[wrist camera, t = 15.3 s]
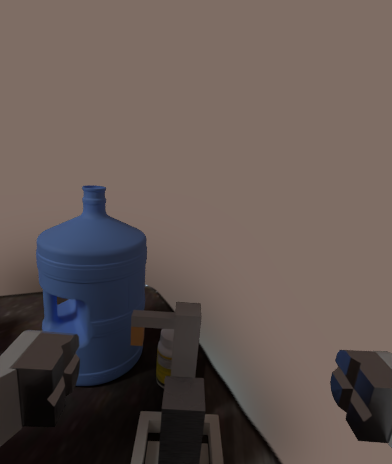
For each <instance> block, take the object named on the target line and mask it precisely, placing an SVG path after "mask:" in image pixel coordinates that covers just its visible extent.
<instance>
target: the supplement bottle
mask: <svg viewBox="0 0 392 464" xmlns="http://www.w3.org/2000/svg"><path fill="white" fill-rule="evenodd" d="M173 338H174V329H162V330H161V336H160V341H159V343H158V348H157V368H156V380H157V383H158V384H159V385H160V386H161V387H162V388H164V385H165V376H171V365H172V351H173Z"/></svg>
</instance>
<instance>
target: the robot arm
mask: <svg viewBox="0 0 392 464" xmlns="http://www.w3.org/2000/svg"><path fill="white" fill-rule="evenodd" d="M78 348H79V336H78V335H77V334H73V333H61V332H49V331H44V332H43V331H34V330H27V331H24V332H22V333H21V334H20V335H19V337H18V338H17V339H16V340H15V341H14V342H13V343H12V344H11V345H10V346H9V347H8V348H7V349H6V351H5V352H4V353H3V354H2V355H1V356H0V446H2V445H3V444H4V443H5V442H6V441H8V440H9V439H10V438H11V437H12V436H14V435H15V434H16V433H17V432H18V431H20V430H21V429H22V426H31V427H55V426H56V424H57V422H58V420H59V418H60V416H61V414H62V412H63V410H64V408H65V406H66V396H68V395H69V394H71V393H72V392H73V389H74V387H75V385H76V382H77V379H78V375H79V368H80V358H79V357H78V356H77V354H76V351H77V349H78ZM335 361H336V363H337V365H338V368H337V369H336V370H335V371H333V372H332V376H331V381H330V383H331V391H332V395H333V397H334V400H335V402H336V403H337V405H338V406H339V407H340V408H341V409H343V410H344V411H345V412H346V413H347V415H346V421H347V422H348V424H349V426H350V427H351V429H352V431H353V433H354V434H355V436H356V438H357V439H358V441H369V442H381V443H389V446H390V447H391V448H392V353H390V352H387V351H353V350H340V351H339V352H338V353H337V356H336V360H335Z"/></svg>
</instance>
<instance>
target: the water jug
mask: <svg viewBox="0 0 392 464" xmlns="http://www.w3.org/2000/svg"><path fill="white" fill-rule="evenodd" d="M82 189H83V191H84V197H83V213H82V214H81V215H80V216H78V217H76V218H73V219H71V220H69V221H66V222H64V223H61V224H59V225H57V226H54V227H52V228H50V229H47V230H45V231H44V232H42V233H41V234H40V235H39V236H38V238H37V250H36V258H37V267H38V270H39V283H40V286H41V287H42V288H43V299H44V315H45V318H44V320H43V323H42V331H43V332H44V331H49V332H61V333H73V334H77V335H78V336H79V348H78V349H77V351H76V354H77V356H78V357H79V358H80V368H79V375H78V379H77V382H76V385H75V386H93V385H99V384H103V383H107V382H110V381H112V380H114V379H117V378H119V377H120V376H122V375H124V374H125V373H127V372H128V371H129V370H130V369H131V368H132V367H133V366H134V365H135V364H136V363H137V361H138V360H139V358H140V356H141V354H142V350H143V345H142V346H133V345H131V316H132V313H133V310H144V307H145V293H144V287H145V264H146V259H147V247H146V236H145V234H144V233H143V232H142V231H140V230H139V229H137V228H134V227H132V226H130V225H128V224H126V223H123V222H121V221H119V220H117V219H114V218H112V217H110V216H108V215H107V214H106V211H105V203H106V199H105V190H106V187H102V186H83V187H82ZM57 297H61V298H66V299H68V300H67V301H65V302H63V303H61V304H59V305H57Z"/></svg>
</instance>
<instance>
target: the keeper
mask: <svg viewBox="0 0 392 464" xmlns="http://www.w3.org/2000/svg"><path fill="white" fill-rule="evenodd" d="M200 325H201V305H200V303H185V302H176V312H160V311H144V310H133V313H132V316H131V345H133V346H142V345H143V341H144V327H146V328H162V329H174V338H173V351H172V365H171V376H176V377H192V378H195V374H196V364H197V355H198V345H199V335H200ZM161 413H162V412H152V411H141V412H140V417H139V423H138V428H137V433H136V438H135V444H134V449H133V454H132V460H131V464H144V458H145V451H146V444H147V438H148V432H149V433H160V428H161ZM203 435H208V442H209V454H208V444H204V443H202V445H201V453H200V462H199V464H209V458H210V464H224V463H223V454H222V444H221V435H220V426H219V416H218V415H212V414H205V420H204V428H203ZM159 442H160V441H148V445H147V452H146V458H145V464H158V457H159Z"/></svg>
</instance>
